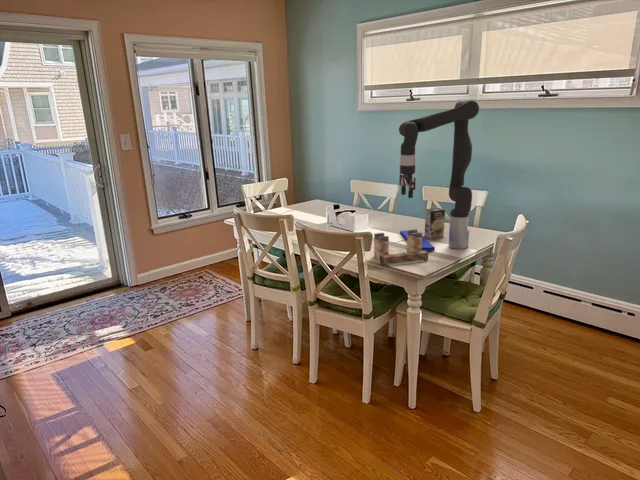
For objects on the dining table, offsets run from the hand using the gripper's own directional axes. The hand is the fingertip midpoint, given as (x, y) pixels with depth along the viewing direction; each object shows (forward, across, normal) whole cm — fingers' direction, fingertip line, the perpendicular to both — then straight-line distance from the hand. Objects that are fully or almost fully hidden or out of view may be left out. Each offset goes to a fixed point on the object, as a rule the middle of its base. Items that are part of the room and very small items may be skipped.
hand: (406, 196), depth 223 cm
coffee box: (+30, +21, -27) cm, 46 cm away
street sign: (+31, +15, -13) cm, 37 cm away
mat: (+30, -12, +6) cm, 33 cm away
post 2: (+30, -4, -3) cm, 31 cm away
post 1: (+30, -4, +15) cm, 34 cm away
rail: (+30, -12, +6) cm, 33 cm away
